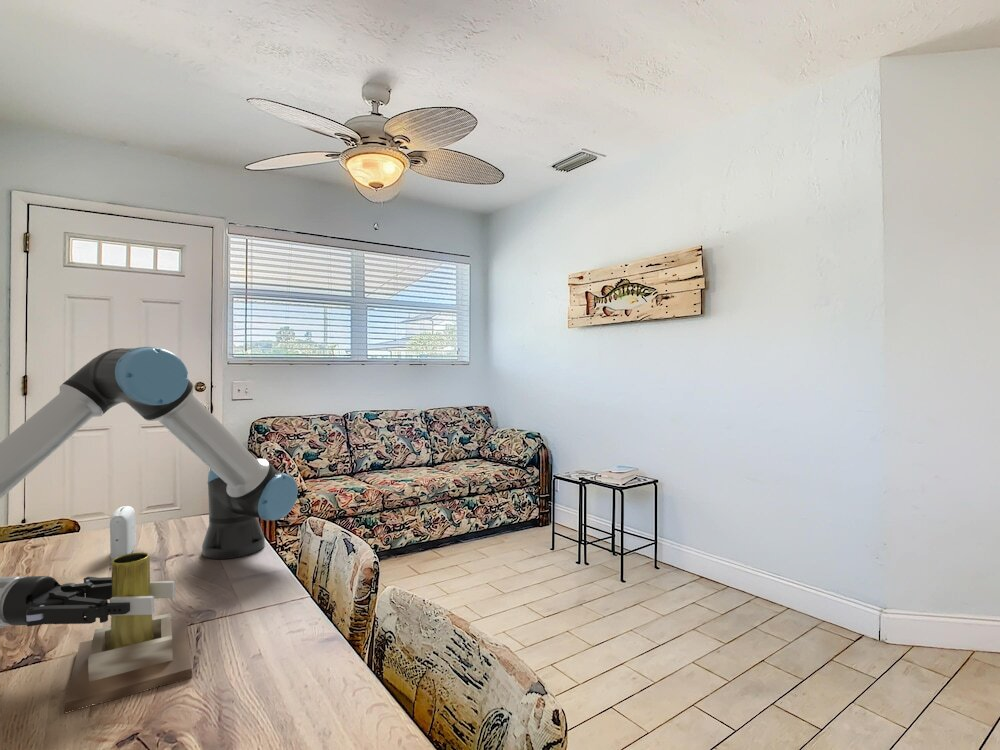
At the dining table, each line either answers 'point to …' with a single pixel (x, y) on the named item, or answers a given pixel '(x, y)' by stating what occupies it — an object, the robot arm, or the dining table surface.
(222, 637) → the dining table surface
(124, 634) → the vase
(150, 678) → the stand
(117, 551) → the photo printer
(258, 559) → the dining table surface
